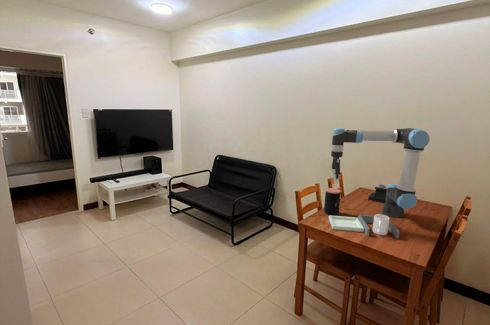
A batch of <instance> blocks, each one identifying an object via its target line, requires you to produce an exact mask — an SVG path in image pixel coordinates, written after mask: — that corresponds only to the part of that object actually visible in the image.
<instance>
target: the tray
mask: <svg viewBox="0 0 490 325" xmlns="http://www.w3.org/2000/svg"><path fill="white" fill-rule="evenodd" d="M328 220H329V223H330V227H331V228H332V230H337V231H345V232H346V231H347V232H356V233H358V232H359V233H365V232H364V227H363V226H362V224H361V223H360V221H359V220H358V217H353V216H341V215H328Z"/></svg>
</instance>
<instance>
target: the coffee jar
mask: <svg viewBox="0 0 490 325" xmlns="http://www.w3.org/2000/svg"><path fill="white" fill-rule="evenodd" d="M341 191H342V190H341V189H339V188H335V187H328V188H326V189H325V194H324V195H325V196H324V207H323V212H324V213H325V214H326V215H328V216H338V215H339V213H340V204H341V203H340V202H341Z"/></svg>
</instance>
